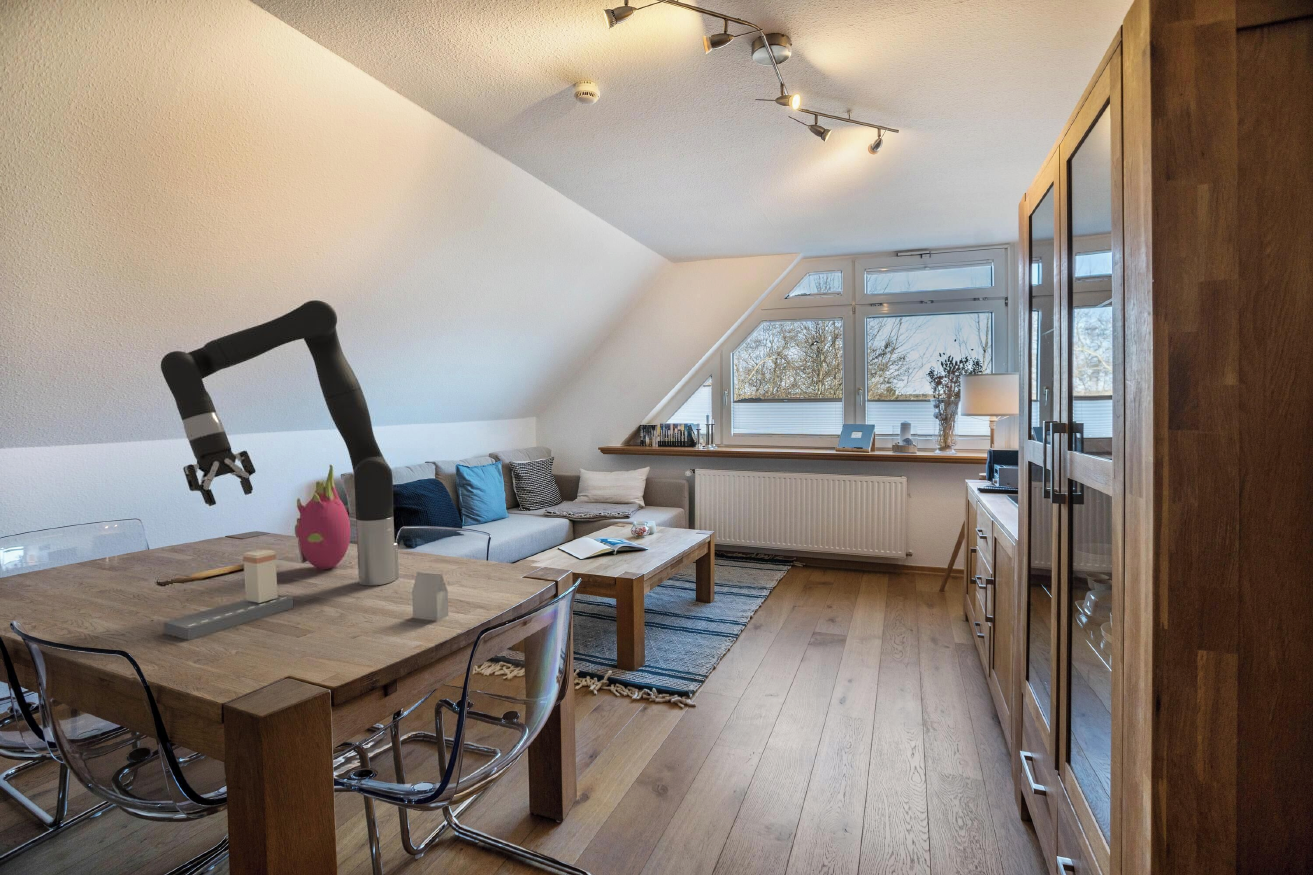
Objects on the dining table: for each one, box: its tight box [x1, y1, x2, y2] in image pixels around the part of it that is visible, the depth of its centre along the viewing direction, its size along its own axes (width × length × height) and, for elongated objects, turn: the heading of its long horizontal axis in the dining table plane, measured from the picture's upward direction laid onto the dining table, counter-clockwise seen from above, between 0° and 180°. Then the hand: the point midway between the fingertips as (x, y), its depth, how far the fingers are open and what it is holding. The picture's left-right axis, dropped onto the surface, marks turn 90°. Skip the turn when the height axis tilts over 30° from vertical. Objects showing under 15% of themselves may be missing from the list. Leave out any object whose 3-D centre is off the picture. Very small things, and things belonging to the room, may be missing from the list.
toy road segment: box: [163, 594, 294, 641], centre depth 152 cm, size 23×9×3 cm, turn 152°
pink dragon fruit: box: [294, 464, 352, 570], centre depth 195 cm, size 18×14×30 cm
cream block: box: [242, 548, 279, 603], centre depth 158 cm, size 4×5×11 cm
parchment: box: [156, 563, 244, 587], centre depth 192 cm, size 25×10×1 cm, turn 145°
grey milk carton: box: [411, 571, 449, 622], centre depth 152 cm, size 4×7×10 cm, turn 68°
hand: (231, 499), depth 162 cm, fingers open, 8 cm apart
